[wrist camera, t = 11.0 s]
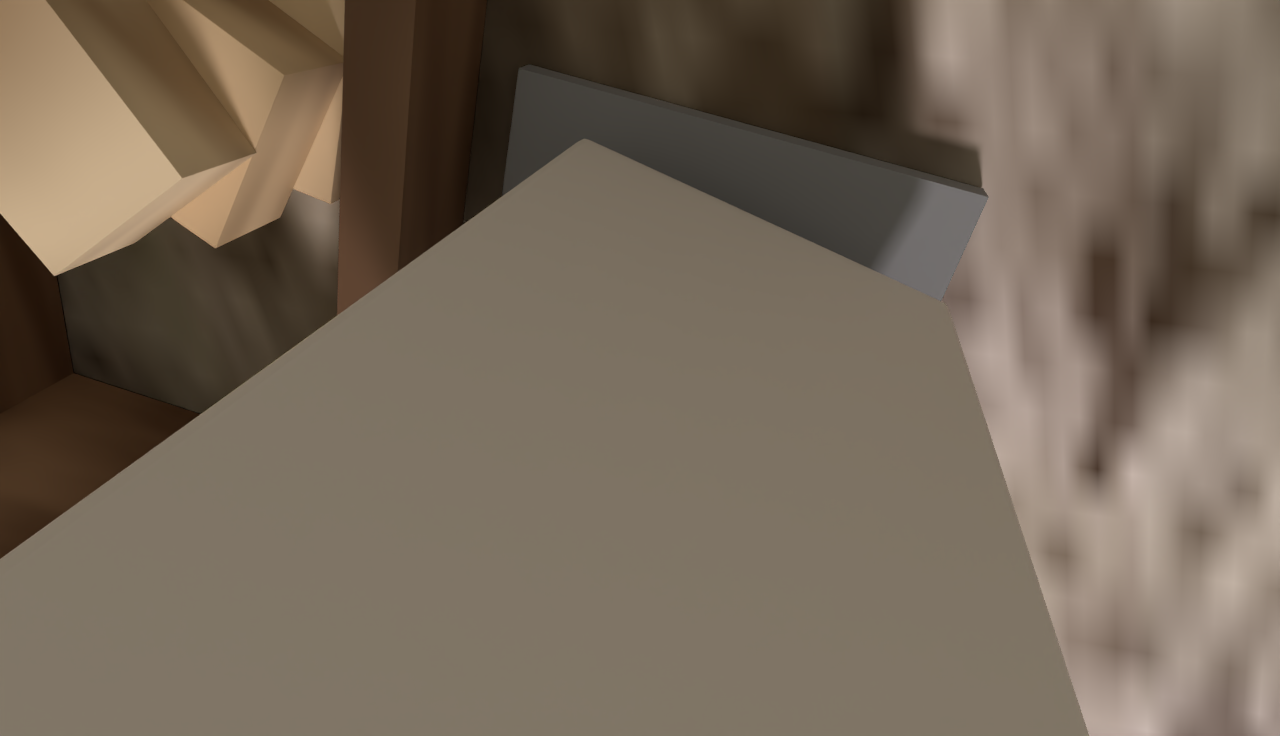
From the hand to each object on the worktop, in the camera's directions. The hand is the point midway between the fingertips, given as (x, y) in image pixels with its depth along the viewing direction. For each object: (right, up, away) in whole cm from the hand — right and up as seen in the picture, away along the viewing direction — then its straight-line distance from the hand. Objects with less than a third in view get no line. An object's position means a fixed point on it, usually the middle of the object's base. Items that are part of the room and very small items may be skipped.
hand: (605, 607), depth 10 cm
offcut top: (-9, +9, +3) cm, 13 cm away
